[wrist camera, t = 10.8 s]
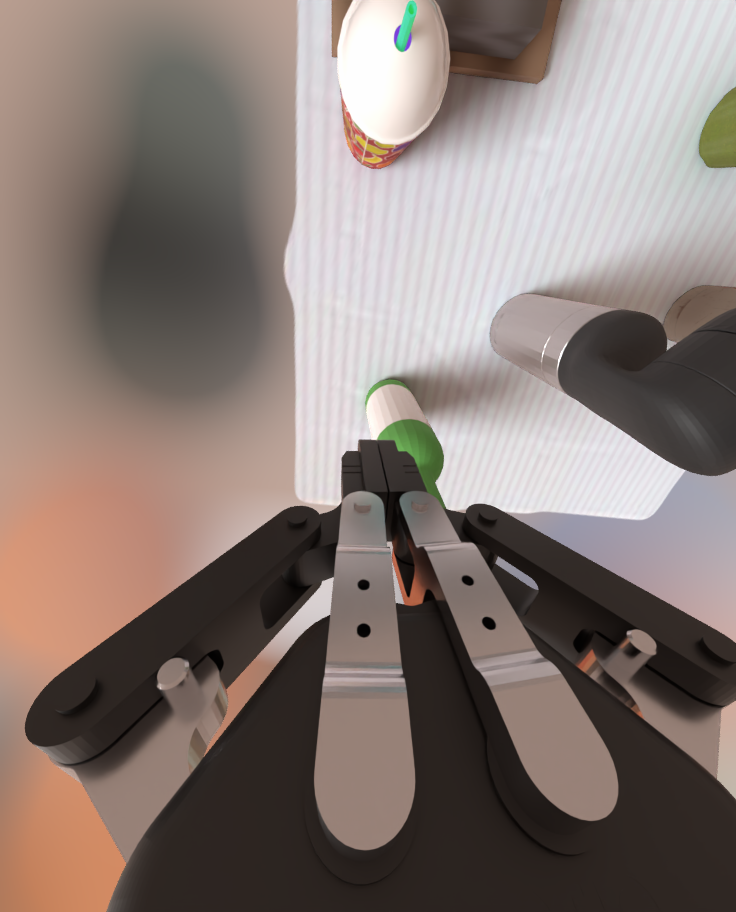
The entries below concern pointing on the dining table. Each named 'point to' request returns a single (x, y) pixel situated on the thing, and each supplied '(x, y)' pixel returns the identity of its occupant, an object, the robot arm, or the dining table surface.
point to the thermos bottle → (697, 309)
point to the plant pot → (720, 134)
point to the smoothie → (390, 75)
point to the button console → (489, 36)
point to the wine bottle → (405, 429)
